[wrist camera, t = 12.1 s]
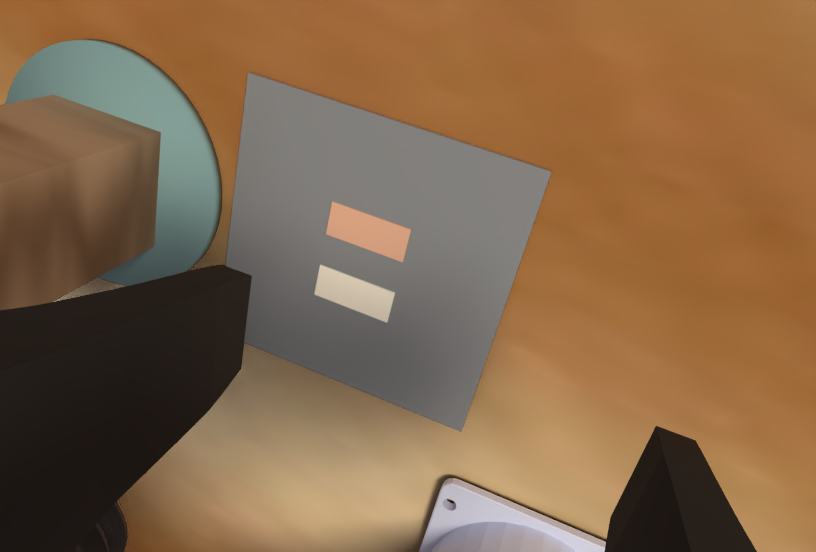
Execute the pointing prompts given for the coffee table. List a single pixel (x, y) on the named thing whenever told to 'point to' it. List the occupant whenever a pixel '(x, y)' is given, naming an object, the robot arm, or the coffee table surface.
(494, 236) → the grey square plate
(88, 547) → the camera lens
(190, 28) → the coffee table surface
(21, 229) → the walnut block
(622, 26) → the coffee table surface
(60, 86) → the coaster
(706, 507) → the robot arm
